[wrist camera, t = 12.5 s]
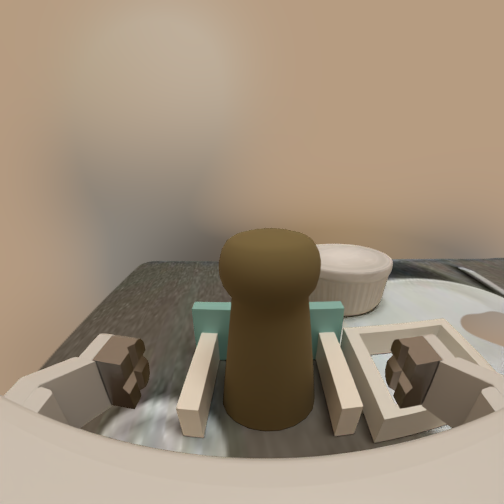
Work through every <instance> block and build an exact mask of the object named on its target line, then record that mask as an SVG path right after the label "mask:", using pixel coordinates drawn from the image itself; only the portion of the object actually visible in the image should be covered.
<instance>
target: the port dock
mask: <svg viewBox="0 0 504 504" xmlns="http://www.w3.org/2000/svg"><path fill="white" fill-rule="evenodd" d="M309 308H310V322H311V337H312V354H313V359H316V362H317V366H318V370H319V374H320V378H321V382H322V386H323V390H324V394H325V398H326V402H327V407H328V411H329V415H330V419H331V423H332V428H333V432H334V436H341V435H349V434H354V432H355V430H356V427H357V424H358V421H359V418H360V415H361V412H362V409H363V404H362V401H361V398H360V396H359V393H358V390H357V388H356V385H355V383H354V380H353V377H352V375H351V372H350V370H349V367H348V365H347V362H346V360H345V357H344V355H343V352H342V350H341V347H340V345H339V343H340V336H341V330H342V323H343V315H344V306H343V305H342V303H341V301H329V302H309ZM230 311H231V302H195V303H194V306H193V308H192V314H193V323H194V332H195V340H196V351H195V354H194V357H193V359H192V362H191V365H190V368H189V371H188V374H187V377H186V380H185V383H184V386H183V389H182V392H181V395H180V398H179V401H178V404H177V407H176V410H177V414H178V417H179V421H180V425H181V428H182V432H183V435H184V436H191V437H201V438H204V434H205V429H206V424H207V419H208V414H209V409H210V405H211V400H212V395H213V390H214V385H215V380H216V376H217V371H218V366H219V361H220V360H226V358H227V346H228V334H229V322H230Z"/></svg>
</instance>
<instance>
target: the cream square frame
mask: <svg viewBox="0 0 504 504" xmlns="http://www.w3.org/2000/svg"><path fill="white" fill-rule="evenodd" d="M427 334H434V335H436V336H437V338H438V339H439V340H440V341H441V342H442V343H443V344H444V345H445V346H446V348H447V349H448V350H449V351H450V352H451V353H452V354H453V355H454V357H455V358H457V357H460V358H462V359H465V360H467V361H469V362H472V363H474V364H477V365H479V366H482V367H484V368H487V369H489V370H491V371H494V372H496V371H495V370H494V369H493V368H492V367H491V365H490V364H489V363H488V362H487V361H486V360H485V359H484V358H483V357H482V356H481V355H480V354H479V353H478V352H477V351H476V350H475V349H474V348H473V347H472V346H471V345H470V344H469V343H468V342H467V341H466V340H465V338H464V337H463V336H461V335H460V334H459V333H458V332H457V331H456V330H455V329H454V328H453V327H452V326H451V325H450V324H449V323H448V322H447V321H446V320H445V319H444V318H443V319H435V320H427V321H419V322H410V323H400V324H390V325H378V326H365V327H351V328H343V335H342V341H341V350H342V352H343V355H344V357H345V360H346V362H347V365H348V367H349V370H350V372H351V375H352V377H353V380H354V383H355V385H356V388H357V390H358V393H359V396H360V398H361V401H362V404H363V409H362V410H363V413H364V416H365V418H366V421H367V424H368V427H369V430H370V433H371V436H372V438H373V441H374V443H377V442H382V441H387V440H391V439H396V438H400V437H404V436H408V435H412V434H416V433H420V432H423V431H427V430H430V429H434V428H437V427H440V426H443V425H446V423H445V422H443V421H442V420H440V419H439V418H438V417H436V416H435V415H433V414H432V413H431V412H429V411H428V410H426V409H425V408H424V407H422V405H418V406H413V407H408V408H402V409H400V408H399V406H398V404H395V403H394V401H393V399H392V397H391V395H390V393H389V391H388V389H387V387H386V385H385V383H384V381H383V379H382V377H381V375H380V373H379V371H378V369H377V367H376V365H375V363H374V362H373V360H372V358H371V356H370V355H374V354H382V353H391V346H392V343H393V341H394V340H395V339H402V338H410V337H417V336H422V335H427ZM496 373H497V372H496Z"/></svg>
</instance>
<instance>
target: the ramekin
mask: <svg viewBox="0 0 504 504" xmlns="http://www.w3.org/2000/svg"><path fill="white" fill-rule="evenodd" d="M316 246H317V248H318V250H319V253H320V258H321V271H320V276H319V280H318V283H317V286H316V289H315V290H314V291H313V292H312V294H311V295H310V296H309V302H329V301H341V303H342V305H343V306H344V315H343V316H354V315H360V314H364V313H366V312H369V311H371V310H372V309H373V308H374V307H376V306H377V305H378V304H379V302H380V300H381V298H382V295H383V292H384V289H385V286H386V282H387V279H388V275H389V274H390V273H391V270H392V265H393V262H392V259H391V258H390V257H389V256H388V255H386V254H385V253H383V252H380V251H378V250H375V249H371V248H368V247H363V246H356V245H348V244H319V245H316Z"/></svg>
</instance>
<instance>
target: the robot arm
mask: <svg viewBox="0 0 504 504" xmlns="http://www.w3.org/2000/svg"><path fill="white" fill-rule="evenodd" d="M144 351H145V346H144V342H143V341H142V340H141V339H139V338H132V337H125V336H118V335H111V334H99V335H98V336H97V337H96V339H95V340H94V341H93V342H92V343H91V344H90V345H89V346H88V347H87V349H86V350H85V351H84V352H83V353H82V354H81V355H80V357H79V358H78V357H74V358H71V359H68V360H66V361H63V362H61V363H58V364H56V365H53V366H51V367H48V368H45V369H43V370H40V371H38V372H35V373H32V374H30V375H27V376H24V377H22V378H20V379H19V380H18V381H17V382H16V383H15V384H14V386H13V387H12V388H11V389H10V390H9V391H8V392H7V393H6V394H5V395H4V396H1V395H0V504H504V375H501V374H499V373H496V372H494V371H491V370H489V369H487V368H484V367H482V366H479V365H477V364H474V363H472V362H469V361H467V360H465V359H462V358H460V357H457V358H455V357H454V355H453V354H452V353H451V352H450V351H449V350H448V349H447V348H446V346H445V345H444V344H443V343H442V342H441V341H440V340H439V339H438V338H437V336H436V335H434V334H427V335H422V336H417V337H410V338H402V339H395V340H394V341H393V343H392V346H391V352H392V354H393V356H392V357H391V358H390V359H389V360H388V361H387V365H386V369H385V377H386V382H387V384H388V386H389V387H390V388H391V389H393V390H395V392H394V395H393V396H394V398H395V400H396V402H397V404H398V406H399V408H400V409H402V408H408V407H413V406H418V405H422V407H424V408H425V409H426V410H428V411H429V412H431V413H432V414H433V415H435V416H436V417H438V418H439V419H440V420H442V421H443V422H445V423H446V424H447V425H449V426H450V427H452V429H449V430H446V431H443V432H440V433H436V434H433V435H430V436H426V437H423V438H419V439H415V440H412V441H408V442H403V443H399V444H395V445H390V446H385V447H380V448H375V449H370V450H364V451H358V452H351V453H343V454H335V455H326V456H315V457H300V458H232V457H217V456H206V455H197V454H188V453H181V452H174V451H168V450H162V449H156V448H151V447H146V446H141V445H137V444H132V443H128V442H124V441H120V440H116V439H112V438H108V437H105V436H101V435H98V434H94V433H91V432H88V431H85V430H82V429H79V428H81V427H82V426H83V425H85V424H86V423H88V422H89V421H91V420H92V419H94V418H95V417H97V416H98V415H100V414H101V413H103V412H104V411H105V410H107V409H108V408H110V407H111V406H112V405H114V406H120V407H125V408H131V409H135V407H136V405H137V403H138V401H139V399H140V397H141V393H140V390H141V389H143V388H145V387H146V385H147V383H148V380H149V374H150V371H149V363H148V360H147V359H146V358H145V357H144V356H143V353H144Z"/></svg>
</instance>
